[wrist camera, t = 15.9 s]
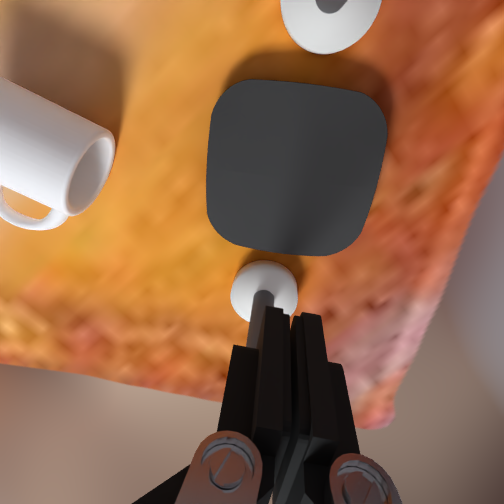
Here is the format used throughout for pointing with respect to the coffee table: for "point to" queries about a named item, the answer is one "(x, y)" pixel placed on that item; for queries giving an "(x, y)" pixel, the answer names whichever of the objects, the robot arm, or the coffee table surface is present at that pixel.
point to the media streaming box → (293, 166)
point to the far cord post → (262, 293)
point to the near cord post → (328, 22)
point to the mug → (49, 157)
